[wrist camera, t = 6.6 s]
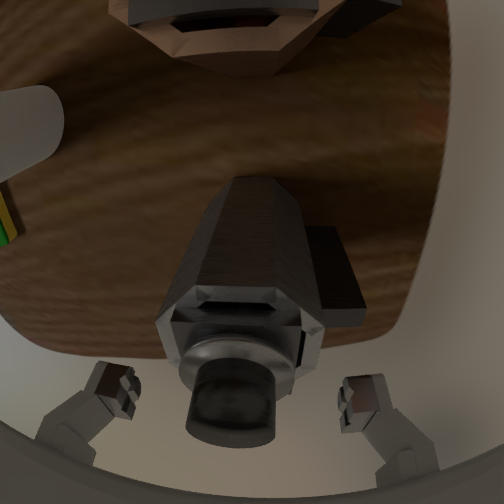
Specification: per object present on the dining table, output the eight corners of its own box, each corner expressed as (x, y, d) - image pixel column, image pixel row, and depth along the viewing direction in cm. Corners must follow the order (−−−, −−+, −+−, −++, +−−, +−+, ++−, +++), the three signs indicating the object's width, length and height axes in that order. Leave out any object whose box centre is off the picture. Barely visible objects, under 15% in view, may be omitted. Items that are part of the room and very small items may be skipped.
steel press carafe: (207, 177, 21) (135, 296, 9) (332, 178, 20) (402, 300, 9) (214, 255, 24) (174, 397, 13) (323, 257, 24) (357, 400, 12)
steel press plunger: (214, 214, 18) (148, 396, 7) (286, 214, 18) (304, 406, 7) (219, 273, 20) (180, 447, 10) (283, 274, 20) (290, 454, 9)
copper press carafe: (200, -4, 13) (110, -97, 2) (334, -4, 13) (417, -98, 2) (202, 79, 17) (93, 71, 6) (336, 80, 16) (446, 74, 5)
